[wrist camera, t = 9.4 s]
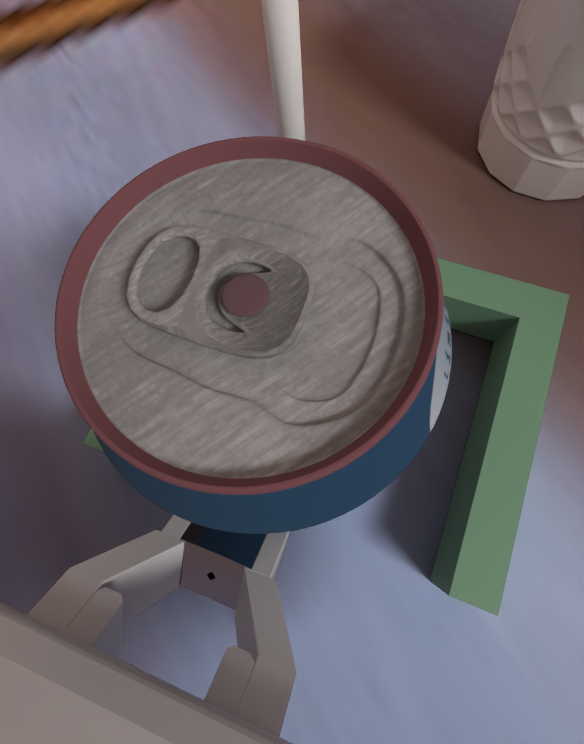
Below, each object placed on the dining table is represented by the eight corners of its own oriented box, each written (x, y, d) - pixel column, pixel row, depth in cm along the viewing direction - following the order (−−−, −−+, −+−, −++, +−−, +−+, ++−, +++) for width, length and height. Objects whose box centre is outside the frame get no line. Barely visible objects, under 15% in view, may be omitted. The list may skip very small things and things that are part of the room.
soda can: (400, 378, 18) (537, 159, 6) (348, 542, 16) (410, 645, 5) (250, 329, 19) (139, 69, 8) (187, 477, 17) (-82, 432, 6)
